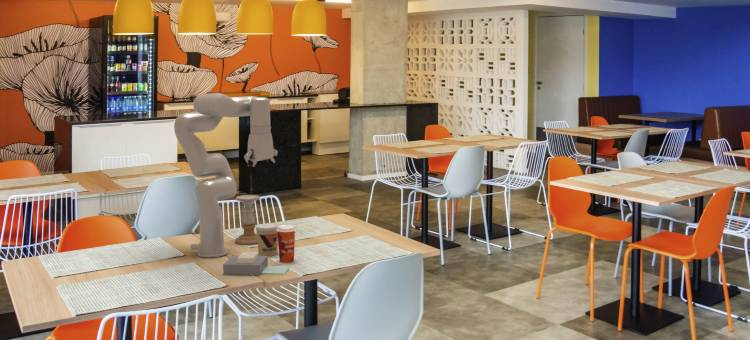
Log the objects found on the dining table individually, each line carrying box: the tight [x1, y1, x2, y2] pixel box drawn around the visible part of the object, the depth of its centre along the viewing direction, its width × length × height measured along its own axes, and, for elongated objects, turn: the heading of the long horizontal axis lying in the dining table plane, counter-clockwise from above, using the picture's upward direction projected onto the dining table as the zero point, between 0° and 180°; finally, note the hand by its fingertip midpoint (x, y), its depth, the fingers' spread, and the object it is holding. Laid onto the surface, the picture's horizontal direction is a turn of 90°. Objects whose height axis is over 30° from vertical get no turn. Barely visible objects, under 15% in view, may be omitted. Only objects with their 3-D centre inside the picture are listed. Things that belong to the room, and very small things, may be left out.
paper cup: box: [276, 224, 297, 264], centre depth 308 cm, size 8×8×14 cm
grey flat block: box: [222, 254, 269, 276], centre depth 295 cm, size 14×13×4 cm
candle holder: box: [234, 194, 261, 246], centre depth 339 cm, size 12×12×20 cm
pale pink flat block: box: [237, 251, 260, 263], centre depth 295 cm, size 6×9×2 cm, turn 175°
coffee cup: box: [255, 223, 279, 257], centre depth 319 cm, size 9×9×12 cm
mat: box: [261, 265, 291, 275], centre depth 295 cm, size 9×10×1 cm
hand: (262, 174), depth 293 cm, fingers open, 9 cm apart
